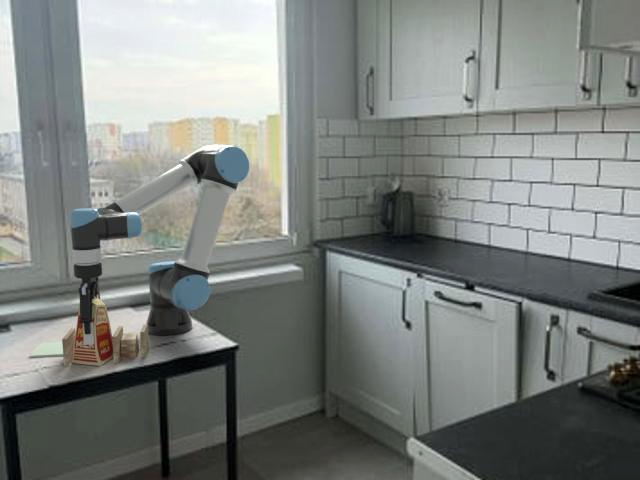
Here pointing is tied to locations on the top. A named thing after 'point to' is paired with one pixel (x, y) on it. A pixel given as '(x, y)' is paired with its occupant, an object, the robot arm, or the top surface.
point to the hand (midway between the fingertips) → (92, 338)
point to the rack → (70, 340)
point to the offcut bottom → (130, 354)
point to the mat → (48, 350)
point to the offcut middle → (130, 348)
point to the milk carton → (102, 338)
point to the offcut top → (129, 339)
